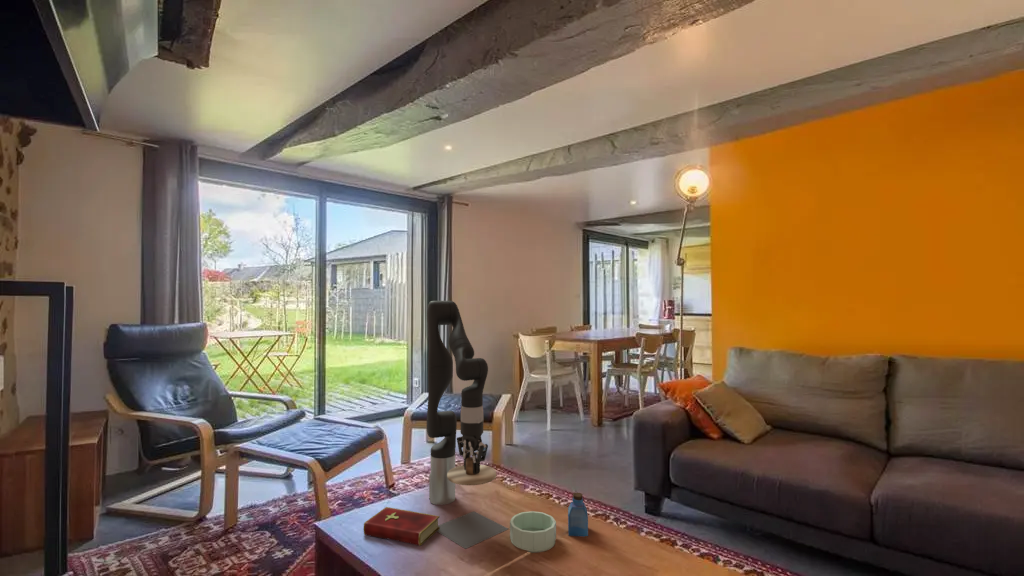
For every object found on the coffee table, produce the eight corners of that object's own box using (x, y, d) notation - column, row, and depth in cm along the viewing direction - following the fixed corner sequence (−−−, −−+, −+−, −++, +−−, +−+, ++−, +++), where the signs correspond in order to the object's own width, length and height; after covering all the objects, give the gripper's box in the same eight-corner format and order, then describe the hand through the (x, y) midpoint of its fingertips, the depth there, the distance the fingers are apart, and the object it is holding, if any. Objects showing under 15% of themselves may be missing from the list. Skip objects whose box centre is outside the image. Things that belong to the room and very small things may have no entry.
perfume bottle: (586, 527, 159) (586, 491, 159) (588, 536, 153) (587, 498, 153) (568, 526, 159) (568, 490, 160) (568, 535, 153) (568, 498, 154)
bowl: (501, 540, 150) (501, 521, 150) (532, 525, 160) (532, 507, 160) (533, 557, 140) (533, 537, 140) (564, 541, 150) (564, 521, 150)
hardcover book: (419, 547, 146) (419, 533, 146) (363, 535, 153) (363, 522, 153) (439, 528, 157) (439, 515, 157) (386, 518, 165) (386, 506, 165)
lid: (437, 475, 157) (437, 458, 157) (475, 463, 168) (475, 448, 168) (468, 489, 146) (468, 471, 146) (506, 476, 157) (506, 459, 157)
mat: (431, 529, 157) (431, 528, 157) (473, 512, 170) (473, 511, 170) (465, 550, 144) (465, 548, 144) (508, 530, 157) (508, 528, 157)
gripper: (449, 417, 160) (449, 469, 159) (476, 425, 150) (476, 480, 149) (467, 413, 165) (467, 463, 165) (494, 421, 155) (494, 474, 154)
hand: (471, 471), depth 157 cm, fingers closed on lid, 4 cm apart
